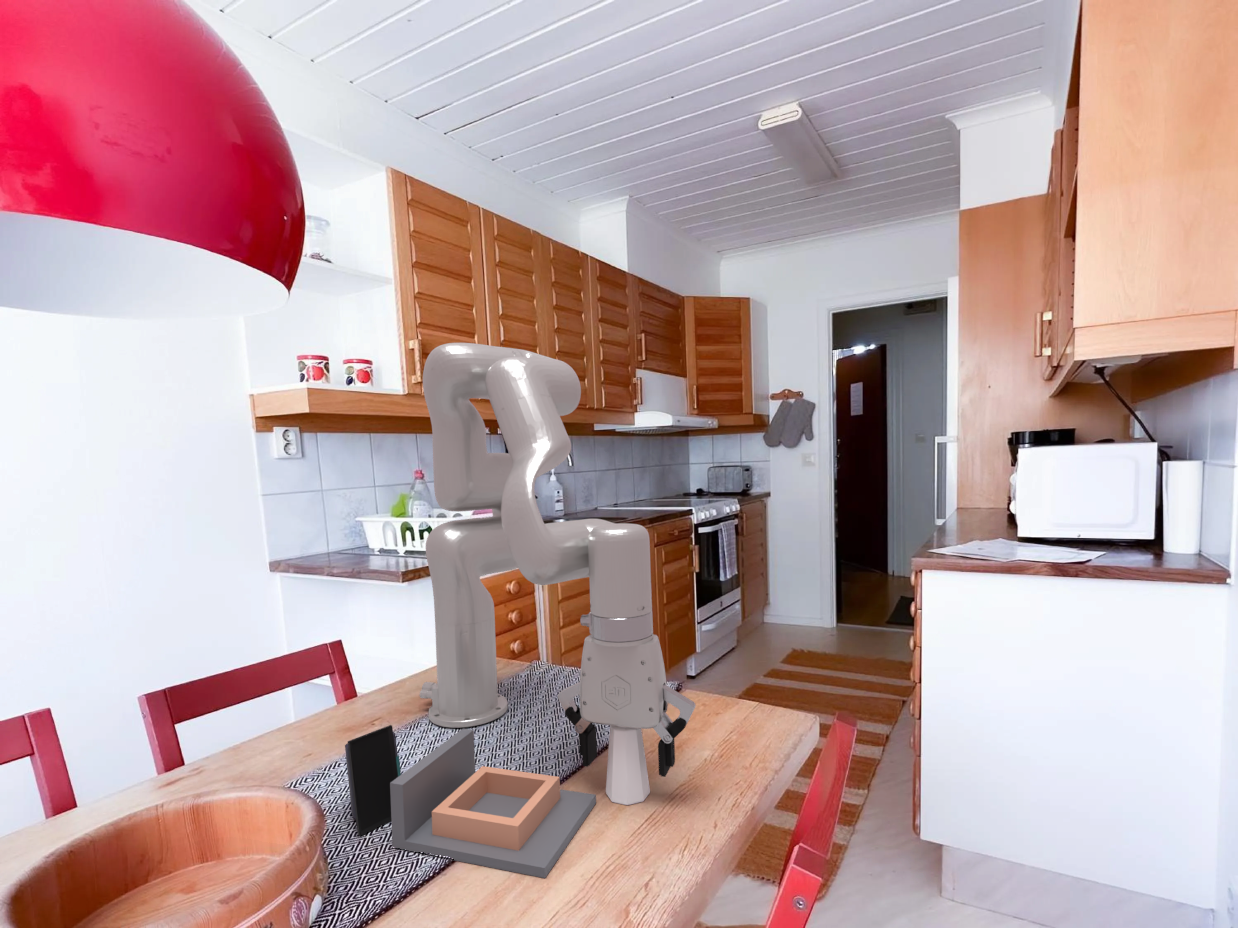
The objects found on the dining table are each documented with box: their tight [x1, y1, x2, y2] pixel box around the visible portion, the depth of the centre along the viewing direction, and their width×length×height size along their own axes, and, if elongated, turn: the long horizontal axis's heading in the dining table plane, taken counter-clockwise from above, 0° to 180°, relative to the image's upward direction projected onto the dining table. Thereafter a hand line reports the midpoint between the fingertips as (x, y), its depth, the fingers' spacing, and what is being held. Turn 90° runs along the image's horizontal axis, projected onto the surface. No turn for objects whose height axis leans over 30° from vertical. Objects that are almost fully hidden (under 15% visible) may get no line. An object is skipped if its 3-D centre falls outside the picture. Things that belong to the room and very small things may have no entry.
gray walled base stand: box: [390, 728, 597, 879], centre depth 71 cm, size 18×14×7 cm
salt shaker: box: [605, 725, 651, 806], centre depth 77 cm, size 5×5×11 cm
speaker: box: [344, 724, 402, 837], centre depth 75 cm, size 8×6×10 cm
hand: (627, 766), depth 77 cm, fingers open, 9 cm apart
